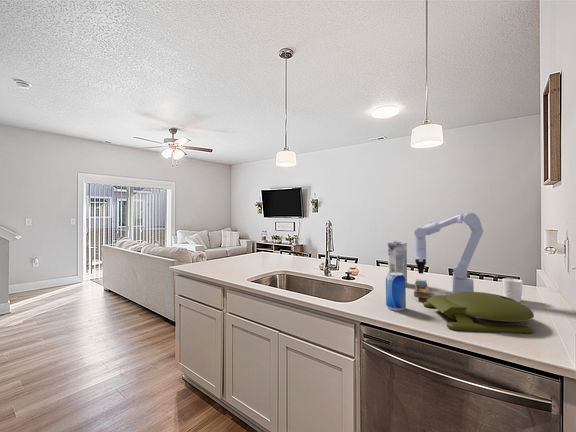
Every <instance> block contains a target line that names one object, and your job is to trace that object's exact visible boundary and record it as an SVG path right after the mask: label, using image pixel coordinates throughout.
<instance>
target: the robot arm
mask: <svg viewBox="0 0 576 432" xmlns="http://www.w3.org/2000/svg"><path fill="white" fill-rule="evenodd" d="M463 223H465V225H467V226H468V227H469V229H470V231H471V233H470V235H469V238H468V240H467V242H466V244H465V247H464V249H463V251H462V254H461V256H460V258H459V260H458V263H457V264H456V265H454V267H453V271H452V274H453V275H452V290H450V292H451V294H453V293H458V292H475V289H474V279H473V278H469V277H468V276H467V275H468V269H469V265H470V262H471V260H472V258H473V257H474V254H475V251H476V250H477V247H478V244H479V243H480V240H481V238H482V236H483V234H484V233H483V232H484V230H483V226H482V222H481V219H480V218H479V216H478V215H477V214H476V213H474V212H466V213H465V214H464V213H462V214H458V215H455V216H452V217H450V218H447V219H445V220H443V221H440V222H437V221H431V222H429V223H427V224H425V225H421V227H418V228H416V229H414V236H415V237H414V255H412V257H413V258H415V261H414V262H415V263H416V266H417V271H418V274H419V275H420V274H422V275H423V274H424V272H425V271H424V270H425V267H426V264H427V239H426V238H427V237H426V236H430V235H434V234H436V233H439V232H440V231H441V229H442V228H445V227H448V226H450V225H454V224H463Z"/></svg>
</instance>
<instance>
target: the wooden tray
mask: <svg viewBox="0 0 576 432" xmlns="http://www.w3.org/2000/svg"><path fill="white" fill-rule="evenodd" d="M428 288H429V287H428V285H427V286H424V288H421V287H418V285H416V281H415V282H414V291H413V295H414V297H415V298H421V299H429V298H430V292H429V289H428Z"/></svg>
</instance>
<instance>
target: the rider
mask: <svg viewBox="0 0 576 432" xmlns="http://www.w3.org/2000/svg"><path fill="white" fill-rule="evenodd" d="M415 282H416V285H418V287H421V288H424V286H427V287H428V283H427V279H419V278H416V279H415Z"/></svg>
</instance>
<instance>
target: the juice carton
mask: <svg viewBox="0 0 576 432" xmlns="http://www.w3.org/2000/svg"><path fill="white" fill-rule="evenodd" d="M407 244H408V243H407V242H403V241H402V242H401V241H398V240H392V241H391V242H387V264H388V266H387V268H388V269H387V270H388V272H387V274H388V273H389V272H399V273H403V276H404V277H405V280H406V284H407V283H408V264H407V263H408V258H407V257H408V254H407V253H408V249H407V248H408V247H407Z"/></svg>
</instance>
